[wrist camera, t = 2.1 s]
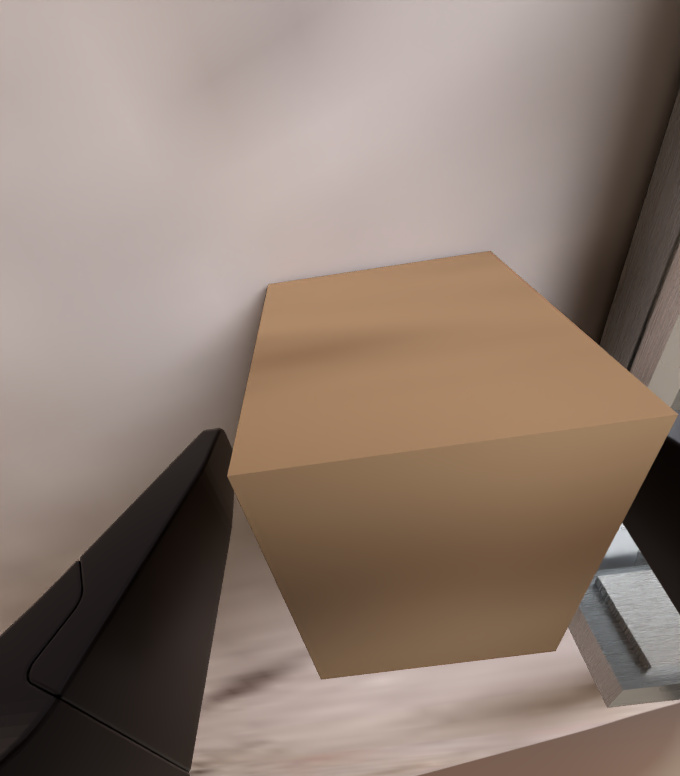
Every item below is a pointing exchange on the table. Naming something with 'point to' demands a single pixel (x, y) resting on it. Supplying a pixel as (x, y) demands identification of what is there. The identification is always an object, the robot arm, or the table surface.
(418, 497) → the block
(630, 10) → the table surface
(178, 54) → the table surface
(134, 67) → the table surface
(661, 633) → the base
